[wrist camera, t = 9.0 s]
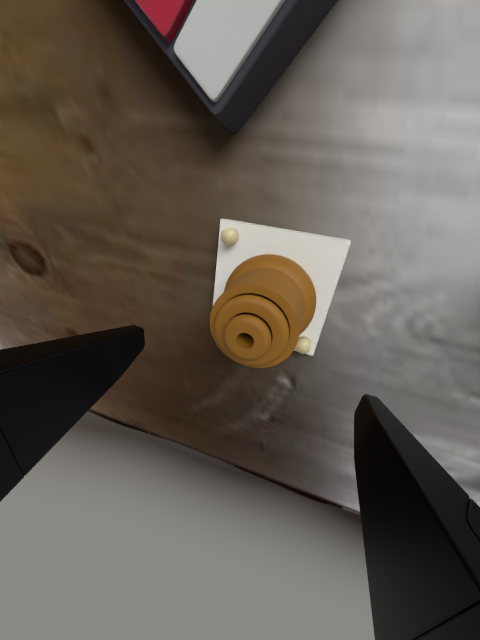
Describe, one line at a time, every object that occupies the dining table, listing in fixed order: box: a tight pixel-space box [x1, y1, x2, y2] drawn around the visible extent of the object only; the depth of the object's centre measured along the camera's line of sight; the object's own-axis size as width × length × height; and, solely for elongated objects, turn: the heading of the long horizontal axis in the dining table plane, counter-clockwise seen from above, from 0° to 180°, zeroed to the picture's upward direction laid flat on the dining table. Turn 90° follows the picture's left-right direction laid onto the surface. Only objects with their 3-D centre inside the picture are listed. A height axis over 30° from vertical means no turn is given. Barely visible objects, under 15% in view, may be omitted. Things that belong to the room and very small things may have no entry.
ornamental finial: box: [210, 254, 316, 368], centre depth 17 cm, size 8×8×8 cm
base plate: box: [213, 219, 351, 356], centre depth 20 cm, size 10×10×2 cm
